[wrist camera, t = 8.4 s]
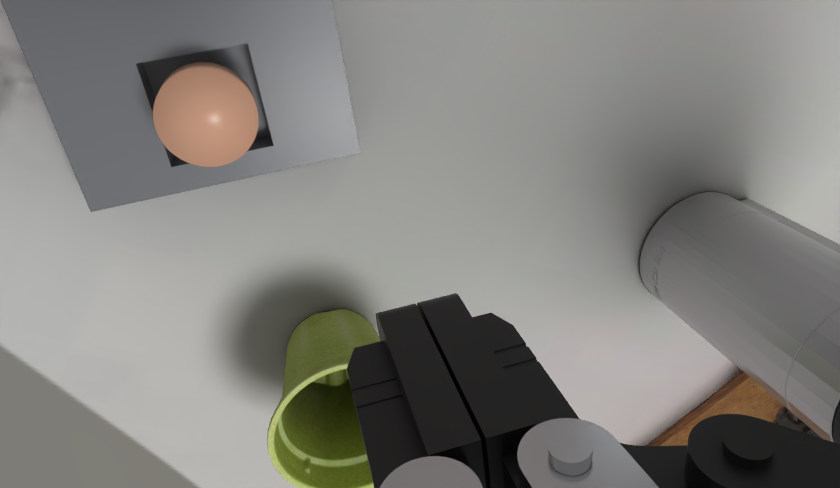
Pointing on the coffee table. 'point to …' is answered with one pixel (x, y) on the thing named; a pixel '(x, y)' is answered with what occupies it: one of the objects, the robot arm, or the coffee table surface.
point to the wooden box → (734, 410)
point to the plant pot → (321, 405)
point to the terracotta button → (206, 114)
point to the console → (163, 54)
